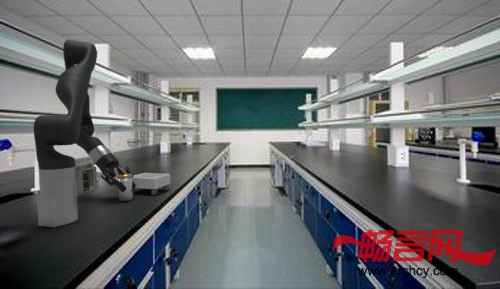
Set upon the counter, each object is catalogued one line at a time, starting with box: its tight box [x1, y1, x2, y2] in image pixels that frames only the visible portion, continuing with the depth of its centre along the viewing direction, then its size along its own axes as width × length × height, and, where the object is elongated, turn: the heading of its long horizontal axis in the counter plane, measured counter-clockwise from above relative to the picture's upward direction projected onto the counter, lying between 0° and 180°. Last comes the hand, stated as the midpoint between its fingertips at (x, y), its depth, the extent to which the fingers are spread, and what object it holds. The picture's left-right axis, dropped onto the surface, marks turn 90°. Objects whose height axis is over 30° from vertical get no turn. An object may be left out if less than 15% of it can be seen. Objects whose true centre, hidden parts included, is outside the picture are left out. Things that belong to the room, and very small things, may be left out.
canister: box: [118, 173, 134, 202], centre depth 107 cm, size 5×5×10 cm
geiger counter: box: [75, 159, 101, 197], centre depth 121 cm, size 14×6×25 cm
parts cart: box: [132, 172, 171, 196], centre depth 120 cm, size 12×14×8 cm
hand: (129, 189), depth 106 cm, fingers closed on canister, 5 cm apart
